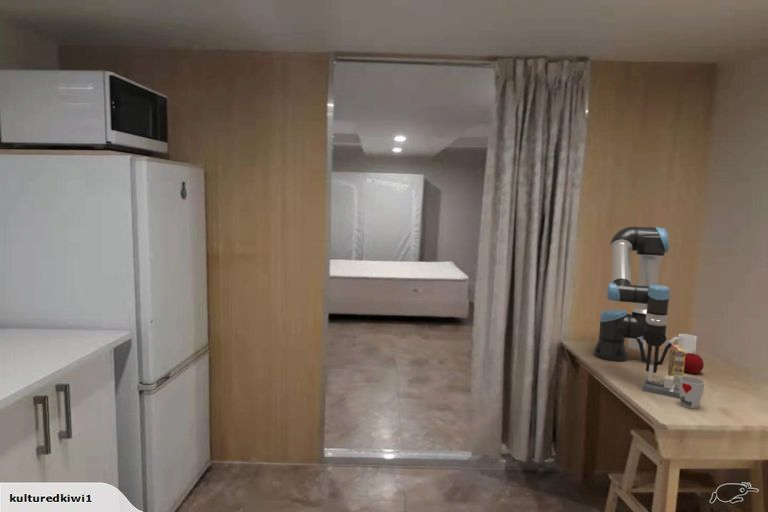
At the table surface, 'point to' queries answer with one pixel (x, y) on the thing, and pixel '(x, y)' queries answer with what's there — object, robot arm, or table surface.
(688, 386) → the cup
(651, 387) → the console
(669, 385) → the fader tab
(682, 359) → the candy box
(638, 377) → the table surface
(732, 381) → the table surface
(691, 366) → the apple
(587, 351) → the table surface
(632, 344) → the toilet paper
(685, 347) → the mug
